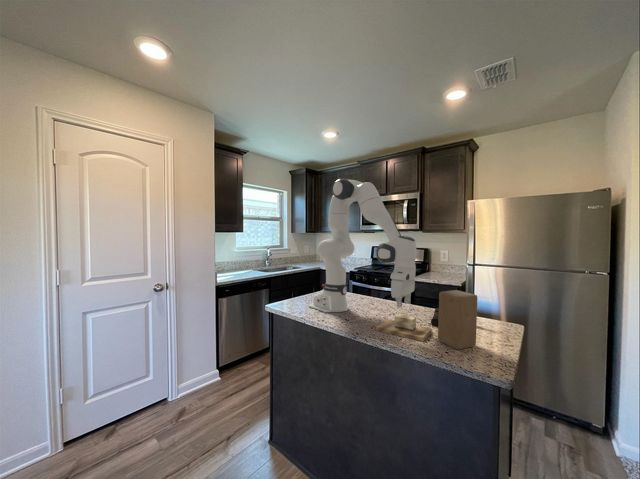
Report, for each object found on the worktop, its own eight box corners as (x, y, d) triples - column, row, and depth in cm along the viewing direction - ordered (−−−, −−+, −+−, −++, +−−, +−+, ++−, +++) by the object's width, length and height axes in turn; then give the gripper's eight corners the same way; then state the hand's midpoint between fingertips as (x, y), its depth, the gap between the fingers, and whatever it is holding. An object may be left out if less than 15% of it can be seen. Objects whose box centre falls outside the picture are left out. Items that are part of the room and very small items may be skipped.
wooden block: (458, 350, 100) (460, 296, 100) (436, 340, 109) (438, 291, 109) (477, 346, 104) (478, 294, 104) (454, 337, 113) (456, 289, 113)
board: (376, 330, 120) (376, 326, 120) (387, 322, 131) (387, 319, 131) (423, 341, 108) (423, 337, 108) (431, 332, 119) (431, 328, 119)
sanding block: (394, 327, 120) (394, 316, 119) (397, 324, 123) (398, 313, 123) (412, 331, 115) (413, 319, 115) (415, 328, 119) (416, 317, 118)
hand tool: (440, 327, 125) (440, 317, 125) (430, 326, 127) (431, 316, 127) (443, 316, 142) (443, 307, 142) (435, 315, 144) (435, 306, 144)
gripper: (405, 270, 129) (404, 298, 130) (388, 275, 112) (387, 308, 113) (419, 271, 125) (417, 301, 126) (404, 277, 109) (402, 311, 109)
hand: (403, 304), depth 119 cm, fingers open, 8 cm apart
